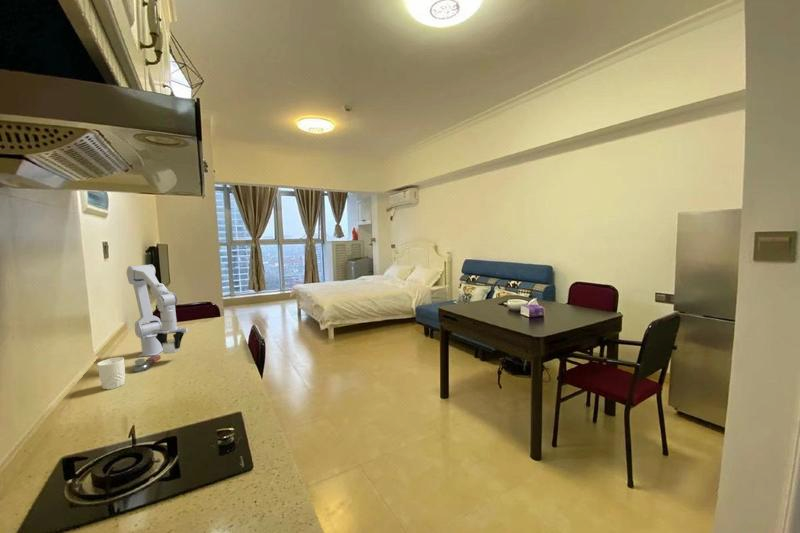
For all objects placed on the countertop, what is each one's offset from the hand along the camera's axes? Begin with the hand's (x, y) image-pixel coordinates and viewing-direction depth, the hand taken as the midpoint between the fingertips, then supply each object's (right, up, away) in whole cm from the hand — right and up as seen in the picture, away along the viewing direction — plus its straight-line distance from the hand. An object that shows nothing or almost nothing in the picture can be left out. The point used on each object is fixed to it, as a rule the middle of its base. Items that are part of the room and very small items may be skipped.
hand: (171, 348), depth 151 cm
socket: (0, -1, 0) cm, 1 cm away
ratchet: (-8, -7, -4) cm, 11 cm away
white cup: (-6, -9, -23) cm, 26 cm away
